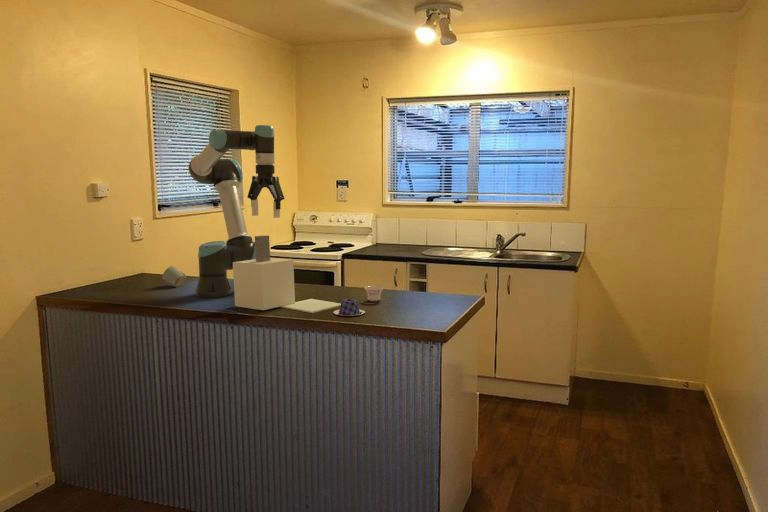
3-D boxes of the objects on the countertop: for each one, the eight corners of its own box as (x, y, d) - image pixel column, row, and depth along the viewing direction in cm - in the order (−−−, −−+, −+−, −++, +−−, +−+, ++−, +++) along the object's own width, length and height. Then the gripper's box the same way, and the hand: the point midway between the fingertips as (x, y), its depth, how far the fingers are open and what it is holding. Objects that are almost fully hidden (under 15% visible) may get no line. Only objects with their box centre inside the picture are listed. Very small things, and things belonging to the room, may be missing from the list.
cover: (235, 306, 238) (231, 237, 235) (267, 299, 252) (263, 234, 249) (263, 310, 228) (259, 238, 225) (295, 303, 241) (292, 234, 238)
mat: (279, 307, 236) (279, 305, 236) (311, 300, 251) (311, 298, 251) (312, 313, 226) (312, 311, 226) (343, 305, 240) (343, 304, 240)
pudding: (370, 315, 224) (370, 301, 223) (342, 318, 218) (342, 304, 217) (355, 309, 234) (355, 296, 234) (328, 312, 228) (328, 299, 227)
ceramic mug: (174, 291, 280) (176, 279, 275) (160, 281, 281) (162, 270, 276) (189, 280, 288) (192, 269, 283) (176, 270, 289) (179, 259, 285)
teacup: (355, 300, 250) (355, 286, 250) (381, 298, 255) (381, 284, 254) (366, 306, 240) (366, 291, 239) (393, 303, 244) (393, 288, 244)
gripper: (238, 164, 246) (239, 215, 249) (278, 164, 231) (278, 218, 234) (252, 164, 252) (253, 214, 255) (292, 164, 237) (293, 217, 240)
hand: (265, 216), depth 245 cm, fingers open, 13 cm apart
